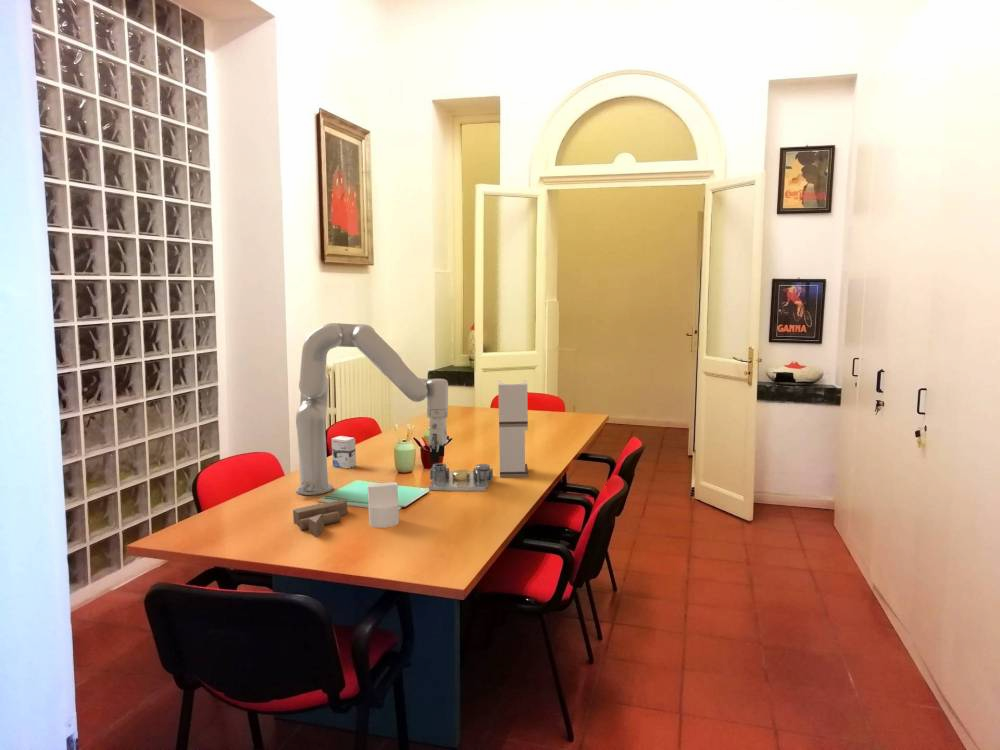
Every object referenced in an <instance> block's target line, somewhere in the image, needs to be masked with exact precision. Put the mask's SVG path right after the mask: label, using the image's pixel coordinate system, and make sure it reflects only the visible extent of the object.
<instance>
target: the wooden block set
mask: <svg viewBox="0 0 1000 750" xmlns="http://www.w3.org/2000/svg"><path fill="white" fill-rule="evenodd" d="M292 512H293V515H292V517H293V524H295V525H296V524H297V525H296V526H297V527H299V529H300V531H305V530H308V533H309V534H310V535H312V536H314V537H315V538H317V537H318V536H320V534H321V533H322V532H323V531H324V529H325V526H327V525H331V524H336V523H339V522H341V517H344V516H345V515H346V514H347V513H348V501H347V500H346V499H345V498H344V499H340V500H339V499H338V500H335V501H330V502H325V503H317V504H312V505H307V506H303V507H298V508H294V509H293V510H292Z"/></svg>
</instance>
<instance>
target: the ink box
mask: <svg viewBox="0 0 1000 750" xmlns="http://www.w3.org/2000/svg"><path fill="white" fill-rule="evenodd" d="M356 452H357V451H356V438H355V437H349V436H344V435H339V436H335V437H333V438H331V455H332V467H333V466H335V468H340V467H343V468H342V469H346V468H349V469H352V468H355V467H357V454H356ZM354 466H355V467H354ZM351 467H352V468H351Z"/></svg>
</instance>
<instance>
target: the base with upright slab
mask: <svg viewBox="0 0 1000 750" xmlns="http://www.w3.org/2000/svg"><path fill="white" fill-rule="evenodd" d="M398 487H399V486H398V482H397V481H394V482H393V481H392V482H384V483H383V482H382V483H371V484H367V501H368V504H367V505H368V525H369V526H370V527H373V528H376V529H383V528H384V529H386V528H391V527H394V526H396V525H398V524H399V522H400V517H399V513H400V512H399V511H400V510H399V489H398Z"/></svg>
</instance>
